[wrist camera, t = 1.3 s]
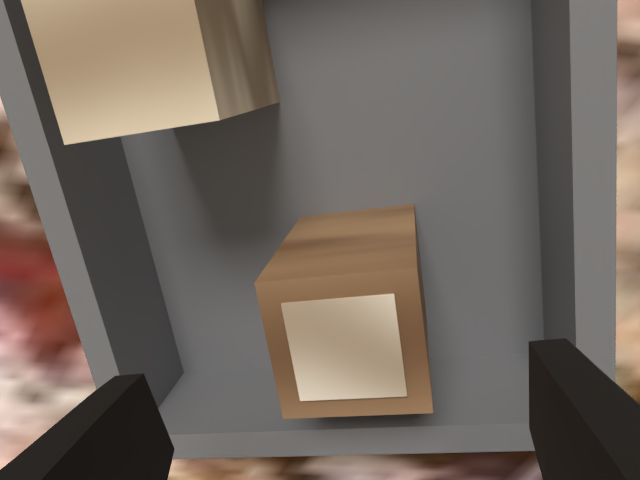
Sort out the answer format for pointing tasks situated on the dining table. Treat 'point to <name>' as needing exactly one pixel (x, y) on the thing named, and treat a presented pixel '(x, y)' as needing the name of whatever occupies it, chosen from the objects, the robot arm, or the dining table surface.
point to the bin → (341, 196)
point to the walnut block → (348, 316)
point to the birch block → (150, 63)
